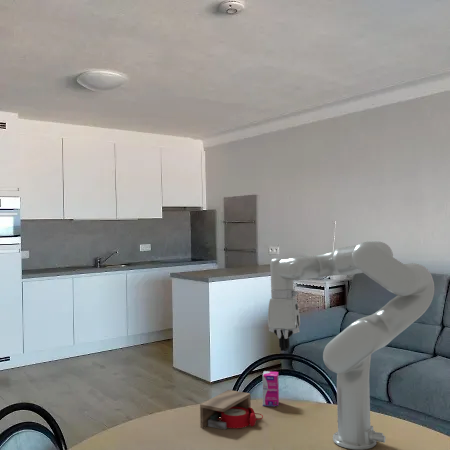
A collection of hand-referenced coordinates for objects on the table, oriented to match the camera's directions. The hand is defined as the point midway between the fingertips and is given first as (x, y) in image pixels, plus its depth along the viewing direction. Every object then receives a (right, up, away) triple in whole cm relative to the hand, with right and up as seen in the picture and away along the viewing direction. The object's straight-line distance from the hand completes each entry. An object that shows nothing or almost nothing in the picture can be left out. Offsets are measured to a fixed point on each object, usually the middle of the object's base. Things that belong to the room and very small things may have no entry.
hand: (284, 350), depth 160 cm
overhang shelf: (-19, -25, +3) cm, 32 cm away
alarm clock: (-15, -25, +1) cm, 29 cm away
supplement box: (-3, -26, +19) cm, 32 cm away
